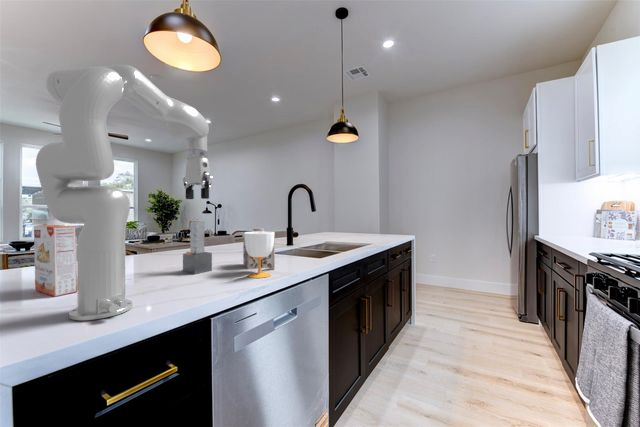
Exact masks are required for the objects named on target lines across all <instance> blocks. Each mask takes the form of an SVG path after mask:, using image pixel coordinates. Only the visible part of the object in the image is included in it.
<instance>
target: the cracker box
mask: <svg viewBox="0 0 640 427" xmlns="http://www.w3.org/2000/svg"><path fill="white" fill-rule="evenodd" d="M33 236H34V238H33V239H34V287H35V291H37V292H40V293H43V294H45V295H48V296H51V297H54V298H55V297H61V296H65V295H69V294H74V293H77V242H78V240H77V226H76V225H63V224H62V225H60V224H40V225H33Z"/></svg>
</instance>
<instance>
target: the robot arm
mask: <svg viewBox="0 0 640 427" xmlns="http://www.w3.org/2000/svg"><path fill="white" fill-rule="evenodd" d="M45 82H46V84H45V85H46V90H47V91H48V93H49V95H50V96H51V98H53V99H54V100H55V101H56V102H57V103H59V104H60V106H59V111H58V113H59V114H58V120H59V125H60V126H59V127H60V133H61V136H62V137H61V138H62V141H57V142H55V141H54V142H51V143H47V144H45V145H44V146H42V147H41V148H40V149H39V151H38V152H37V154H36V158H35V168H36V172H37V176H38V180H39V184H40V186H41V191H42V193H43V194H42V195H43V197H44V200H45V201H44V202H45V204H46V207H47V209H48V211H49V213H50V214H51V216H52V217H53V218H54V219H56V221H59V222H61V223H65V224H73V225H75V224H77V225H79V224H80V225H81V224H82V225H83V224H84V225H83V227H82V229H81V231H80V233H79V235H78V238H77V292H76V293H77V294H76V295H77V307H75V308H73V309H71V310H70V311H69V312H68V318H69V319H70V320H73V321H93V320H100V319H101V320H102V319H106V318H110V317H114V316H117V315H120V314H121V315H122V314H123V313H125V312H127V311H128V312H129V311H130V310H131V309H132V308H133V301H132V300H130V299H126V232H127V231H126V230H127V224H128V219H129V216H130V211H131V205H130V204H131V203H130V199H129V197H128V195H127V194H126V193H125V192H124V191H123V190H121V189H119V188H117V187H114V186H109V185H86V186H85V184H84V182H91V181H93V182H94V181H102V180H106V179H109V178H110V177H112V175H113V174H114V172H115V160H114V156H113V151H112V147H111V146H112V145H111V142H110V138H109V132H108V127H107V126H108V125H107V118H108V115H109V112H110V110H111V109H112V108H113V106H114V105H115V104H116V103H118V101H120V100H121V99H123V100H126V101H128V102H129V103H132V104H133V105H134V106H136V107H137V108H138V109H139V110H141V111H142V112H143V113H145V114H146V115H147V116H148V117H151V118H153V119H158V120H160V121H164V122H165V121H166V122H167V124H166V129H167V132H168V134H169V136H171V137H173V138H175V139H178V140H183V141H184V140H185V141H186V161H185V162H186V163H185V174H184V178H182V182H183V185H184V189H185V199H186V200H194V198H195V197H194V196H195V195H194V194H195V193H194V192H195V191H194V190H195V189H194V187H195V186H201V188H200V199H203V200H205V199H206V200H208V199H210V188H211V185H212V182H213V176H212V175H211V168H210V167H211V166H210V162H209V159H208V134H209V133H210V132H209V131H210V127H209V123H208V121H207V120H206V118H205V117H204V116H203V115H202V114H201V113H200V112H199V111H198V109H196V108H195V107H193V106H191V105H189V104H187V103H186V102H183V101H180V100H178V99H175V98H173V97H170V96H168V95H166V94H165V93H164V92H163V91H162V90H161V89H159V87H157V86H156V85H155V84H154V83H153V82H152V81H151V80H150V79H149V78H147V77H146V75H144V74H143V73H142V72H141V71H140V70H139V69H137V68H136V67H134V66H132V65H129V64H113V65H100V66H89V67H78V68H77V67H76V68H67V69H65V68H64V69H58V70H57V69H56V70H54V71H53V72H51V73H50V74H48V76H47V78H46V80H45Z"/></svg>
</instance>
